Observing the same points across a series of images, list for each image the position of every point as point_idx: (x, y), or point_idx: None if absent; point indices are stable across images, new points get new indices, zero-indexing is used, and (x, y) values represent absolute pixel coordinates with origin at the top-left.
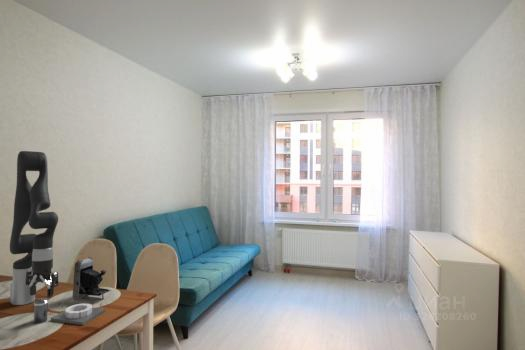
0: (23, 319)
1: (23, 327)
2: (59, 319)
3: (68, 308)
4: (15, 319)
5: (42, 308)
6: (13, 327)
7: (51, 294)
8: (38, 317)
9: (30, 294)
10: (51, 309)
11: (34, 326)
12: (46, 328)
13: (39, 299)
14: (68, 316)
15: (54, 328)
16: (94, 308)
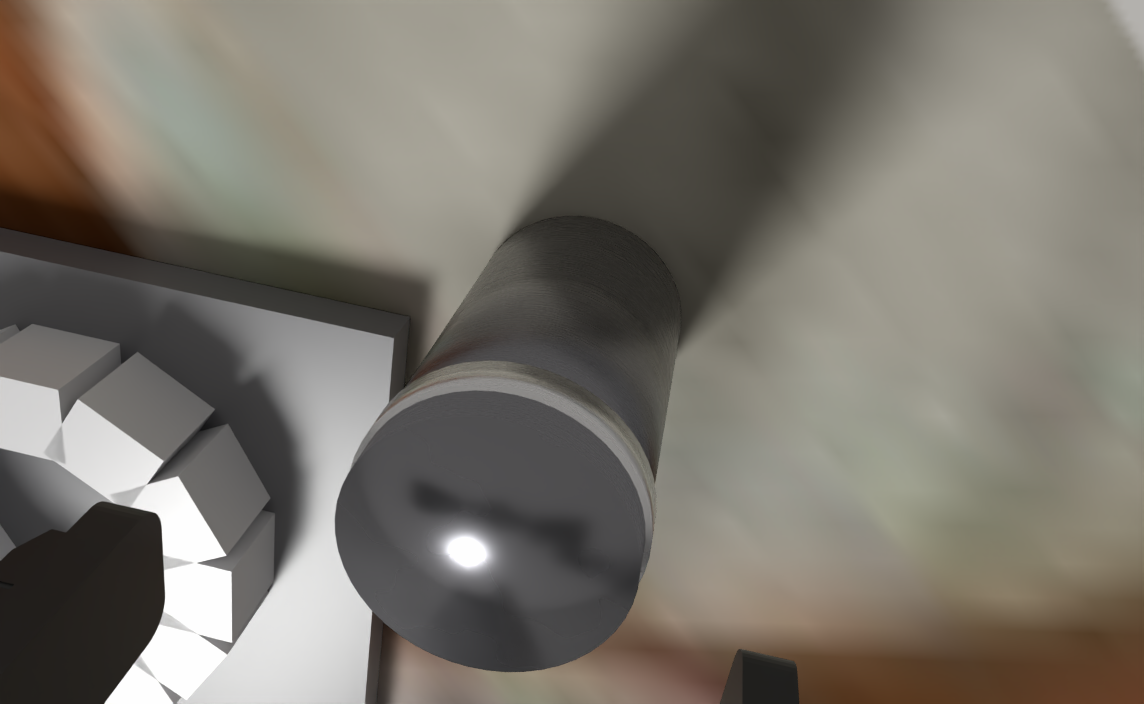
0: (934, 361)
1: (707, 34)
2: (212, 295)
3: (185, 548)
4: (1094, 359)
5: (424, 365)
6: (913, 19)
7: (8, 572)
8: (527, 258)
9: (788, 675)
10: (694, 700)
11: (527, 90)
12: (256, 24)
13: (562, 587)
14: (86, 353)
15: (124, 35)
16: None
